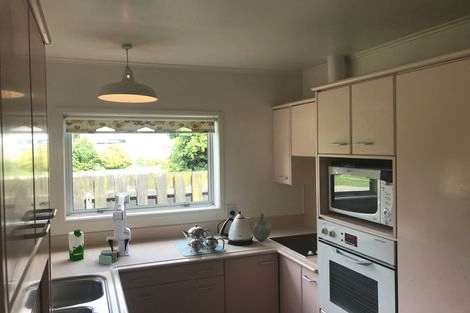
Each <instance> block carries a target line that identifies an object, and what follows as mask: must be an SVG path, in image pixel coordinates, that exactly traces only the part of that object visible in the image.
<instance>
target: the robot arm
mask: <svg viewBox="0 0 470 313" xmlns="http://www.w3.org/2000/svg"><path fill="white" fill-rule="evenodd" d="M130 198H131V194H130V192H115V193H114V202H115V204H116V205H115V206H114V207H115V208H114V212H112V219H113V223H112V224H113V236H106V242H107V243H108V245H109V247H110V250H112V252H113V251H114V249H115V248H114V241H116V242H117V249H118V252H119V251H120V257H123V256H130V253H131V251H130V250H129V249H130V248H129V247H130V246H129V245H130V244H129V243H130V241H131V240H132V236H131V234H132V232H131V229H130V228H129V227H127V206H128V205H129V204H130V202H131V200H130Z"/></svg>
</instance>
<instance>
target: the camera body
mask: <svg viewBox="0 0 470 313" xmlns="http://www.w3.org/2000/svg"><path fill="white" fill-rule="evenodd" d="M113 249H114V251H113V252H112V250H111V249H102V250H101V252H100V254H99V255H102V256H111V257H112V263H116V262H117V261H118V259H120V258H121V256H120V251H119V252H118V248H117V249H115V248H113Z"/></svg>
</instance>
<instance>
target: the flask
mask: <svg viewBox="0 0 470 313" xmlns="http://www.w3.org/2000/svg"><path fill="white" fill-rule="evenodd" d="M271 233H272V225H271V222H270V221H269V220H267V219H265V213H264V212H261V213H259V220H258V221H256V222H254V225H253V227H252V235H253V238H254V239H255V240H256V241H259V242H263V241H266V240H267V239H268V238H269V237H270V235H271Z"/></svg>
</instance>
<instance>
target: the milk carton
mask: <svg viewBox="0 0 470 313" xmlns="http://www.w3.org/2000/svg"><path fill="white" fill-rule="evenodd" d="M84 235H85V233H84V232H83V231H81V229H73V231H72V232H71V231H70V232H68V256H69V258H68V259H69V260H70V261H71V262H76V261H83V260H84V258H85V253H84V252H85V250H84V247H85V246H84V245H85V244H84V243H85V238H84V237H85V236H84Z"/></svg>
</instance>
